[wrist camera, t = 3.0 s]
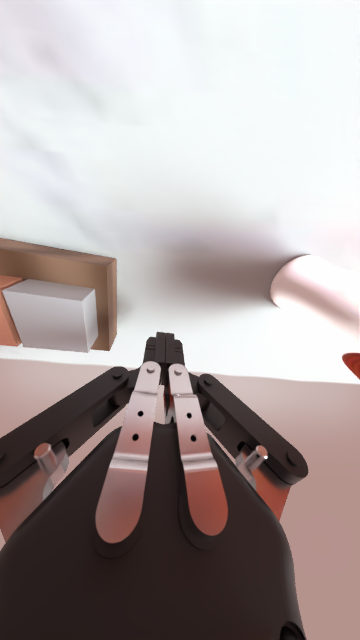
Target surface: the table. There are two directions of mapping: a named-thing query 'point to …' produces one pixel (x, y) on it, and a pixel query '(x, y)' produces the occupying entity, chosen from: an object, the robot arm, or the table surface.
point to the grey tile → (53, 315)
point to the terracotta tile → (7, 314)
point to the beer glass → (323, 304)
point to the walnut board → (68, 277)
